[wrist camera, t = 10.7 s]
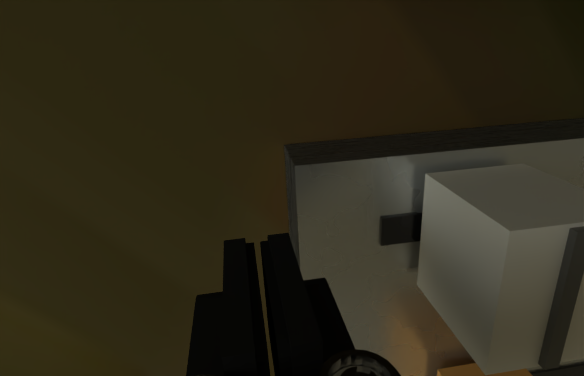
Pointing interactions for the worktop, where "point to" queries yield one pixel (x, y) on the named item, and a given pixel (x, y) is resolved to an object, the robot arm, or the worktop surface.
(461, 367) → the fader orange
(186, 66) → the worktop surface
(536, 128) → the console
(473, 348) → the fader white
